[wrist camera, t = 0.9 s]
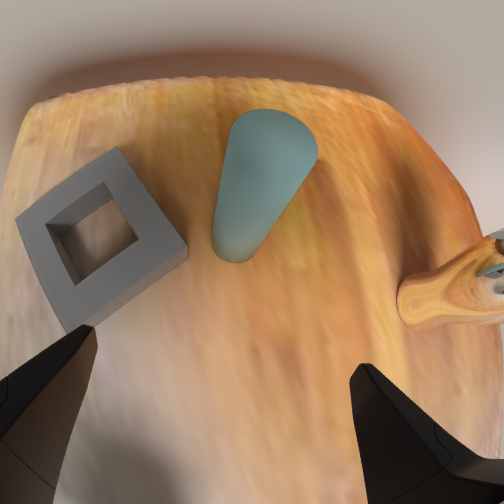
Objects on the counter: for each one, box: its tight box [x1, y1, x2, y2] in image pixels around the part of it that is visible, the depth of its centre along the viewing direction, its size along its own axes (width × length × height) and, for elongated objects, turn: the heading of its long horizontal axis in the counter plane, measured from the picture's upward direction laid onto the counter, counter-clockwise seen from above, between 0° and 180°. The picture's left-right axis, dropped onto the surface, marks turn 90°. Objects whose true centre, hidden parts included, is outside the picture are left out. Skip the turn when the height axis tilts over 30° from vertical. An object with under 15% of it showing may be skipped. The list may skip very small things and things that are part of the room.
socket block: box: [15, 147, 188, 334], centre depth 21 cm, size 11×11×3 cm
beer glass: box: [397, 228, 504, 332], centre depth 19 cm, size 7×7×15 cm
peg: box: [211, 109, 318, 263], centre depth 18 cm, size 4×4×13 cm
